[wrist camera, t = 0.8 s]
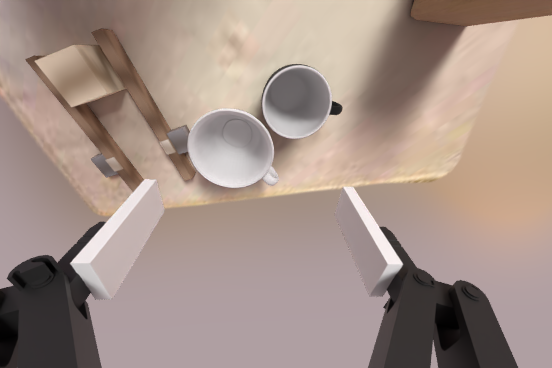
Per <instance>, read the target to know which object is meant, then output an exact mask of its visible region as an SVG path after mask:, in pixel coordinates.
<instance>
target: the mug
mask: <svg viewBox="0 0 552 368" xmlns="http://www.w3.org/2000/svg"><path fill="white" fill-rule="evenodd" d="M262 111H263V115H264V118H265V120H266V122H267V124H268V125H269V127H270V128H271V129H272V130H273V131H274V132H276V133H277V134H279V135H280V136H282V137H285V138H290V139H300V138H305V137H307V136H310V135H312V134H313V133H315V132H316V131H317V130H319V129H320V128H321V127H322V126H323V124H324V123H325V121H326V120H327V118H328V116H329V115H338V114H340V113H341V111H342V106H341V105H340V104H338V103H336V102H333V101H332V94H331V90H330V87H329V84H328V82H327V80H326V79H325V77H324V76H323V75H322V74H321V73H320V72H318V71H317V70H316V69H314V68H312V67H310V66H307V65H302V64H292V65H287V66H284V67H282V68H280V69H278V70H277V71H276V72H274V73H273V74H272V76H271V77H270V78H269V80H268V81H267V83H266V85H265V87H264V90H263V95H262Z"/></svg>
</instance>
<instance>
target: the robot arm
mask: <svg viewBox="0 0 552 368" xmlns="http://www.w3.org/2000/svg"><path fill="white" fill-rule="evenodd" d="M164 211H165V210H164V206H163V202H162V198H161V195H160V191H159V187H158V183H157V180H151V179H144V181H143V182H142V183H141V184H140V185H139V186H138V187H137V188H136V190H135V191H134V192H133V193H132V194H131V195H130V196H129V197H128V199H127V200H126V201H125V202H124V203H123V204H122V205H121V207H120V208H119V209H118V210H117V211H116V212H115V213H114V214H113V216H112V217H111V218H110V219H109V220H108V221H107V222H99V223H98V224H96V225H94V226H93V227H91V228H90V229H89V230H88V231H87V232H86V233H85V234H84V235H83V237H82V238H80V239H79V240H78V242H77V244H75V245H74V246H73V247H72V248H71V249H70V250H69V251H68V252H67V253H66V254H65V255H64V256H63V257H62V259H60V261H59V262H58V263H57V262H56V261H55V260H54V258H53V257H52V256H49V255H43V256H37V257H34V258H31V259H29V260H27V261H25V262H22V263H21V264H20V265H18V266H17V267H15V268H14V269H13V270H12V271H11V272H10V273H9V275H8V277H7V279H8V280H9V281H10V282H11V283H12V284H13V285H14V286H11V287H6V288H2V289H0V368H102V367H101V363H100V358H99V354H98V349H97V344H96V340H95V335H94V330H93V326H92V321H91V317H90V312H89V307H88V304H87V302H86V301H85V300H86V299H87V297H88V296H89V294H90V293H91V294H92V295H93V297H94V298H95V300H96V299H113V297H114V296H115V294H116V292H117V290H118V289H119V287H120V285H121V284H122V282H123V280H124V279H125V277H126V275H127V273H128V272H129V270H130V269H131V267H132V265H133V264H134V262H135V260H136V258H137V257H138V255H139V253H140V252H141V250H142V248H143V247H144V245H145V243H146V242H147V240H148V238H149V237H150V235H151V233H152V232H153V230H154V228H155V227H156V225H157V223H158V221H159V220H160V218H161V216H162V215H163V213H164ZM335 217H336V220H337V222H338V225H339V227H340V229H341V231H342V234H343V236H344V239H345V241H346V243H347V245H348V248H349V250H350V252H351V255H352V257H353V259H354V261H355V264H356V266H357V269H358V271H359V273H360V276H361V278H362V280H363V282H364V285H365V287H366V290H367V292H368V294H369V296H383V295H384V294H385V292H386V291H388V293H389V295H390V298H389V300H388V301H387V303H386V304H385V306H384V308H385V309H386V310H385V313H384V316H383V320H382V323H381V326H380V330H379V333H378V336H377V340H376V343H375V346H374V350H373V353H372V356H371V360H370V363H369V366H368V368H430V365H431V354H432V344H433V340H434V346H435V351H436V357H437V362H438V368H518V366H517V364H516V362H515V359H514V357H513V355H512V352H511V350H510V348H509V346H508V343H507V341H506V339H505V337H504V334H503V332H502V330H501V327H500V325H499V323H498V321H497V318H496V316H495V314H494V312H493V309H492V307H491V305H490V303H489V300H488V298H487V297H486V295H485V294H484V293H483V292H482V291H481V290H480V289H479V288H477V287H476V286H474V285H473V284H471V283H469V282H466V281H462V280H460V281H456V282H455V283H454V285H453V286H452V285H449V284H445V283H442V282H438V281H435V280H434V278H432V276H431V275H430V274H428V273H427V272H425V271H424V270H421V269H418V268H417V267H416V266H415V264H414V263H413V261H412V260H411V259H410V257H409V256H408V254H407V253H406V252H405V250H404V249H403V247H401V244H400V243H399V241H397V239H396V237H395V236H394V234H393V233H392V232H391V231H390V230H388V229H387V228H386V227H379V226H378V225H377V223H376V222H375V220H374V219H373V217H372V216H371V214H370V213H369V211H368V210H367V208H366V206H365V205H364V203H363V202H362V200H361V199H360V197H359V195H358V194H357V192H356V191H355V189H354V188H353V187H343V188H342V192H341V195H340V198H339V201H338V205H337V208H336V211H335Z"/></svg>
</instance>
